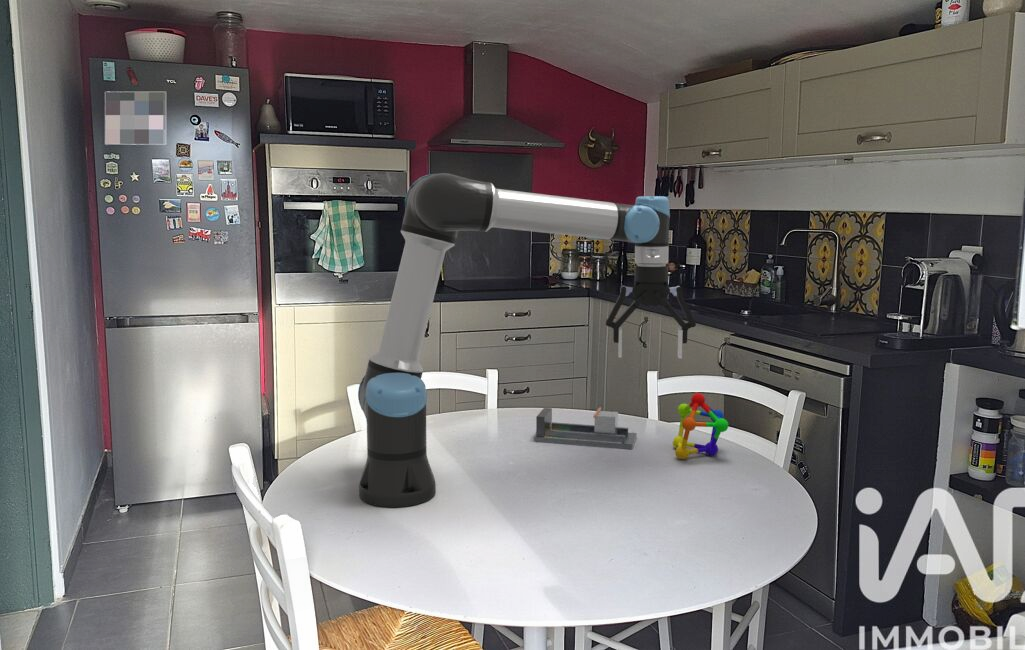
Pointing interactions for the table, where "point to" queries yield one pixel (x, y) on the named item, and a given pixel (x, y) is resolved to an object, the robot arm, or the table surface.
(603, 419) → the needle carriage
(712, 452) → the educational toy
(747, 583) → the table surface
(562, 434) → the base
